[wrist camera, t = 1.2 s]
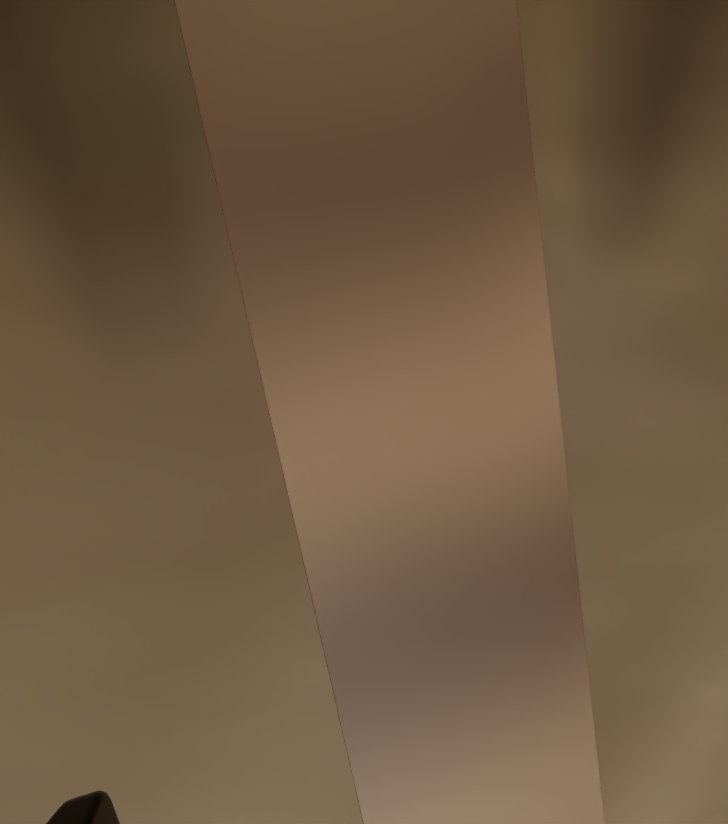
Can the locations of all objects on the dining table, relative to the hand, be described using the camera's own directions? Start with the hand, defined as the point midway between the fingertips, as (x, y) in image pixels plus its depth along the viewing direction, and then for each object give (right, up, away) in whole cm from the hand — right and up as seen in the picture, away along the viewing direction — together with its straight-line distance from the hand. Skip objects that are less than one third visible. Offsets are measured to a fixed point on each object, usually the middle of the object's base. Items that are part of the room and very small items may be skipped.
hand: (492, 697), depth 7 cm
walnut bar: (-1, +1, +5) cm, 6 cm away
